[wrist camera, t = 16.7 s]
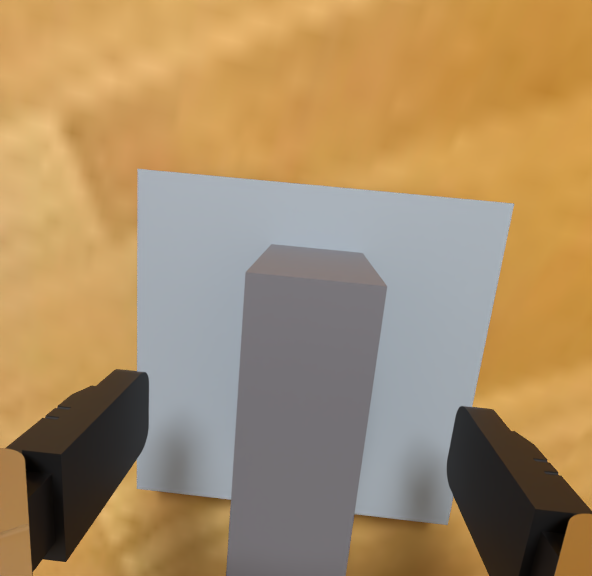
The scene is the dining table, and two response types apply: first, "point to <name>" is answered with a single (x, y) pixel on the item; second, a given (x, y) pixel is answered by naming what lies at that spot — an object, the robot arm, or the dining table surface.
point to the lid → (308, 354)
